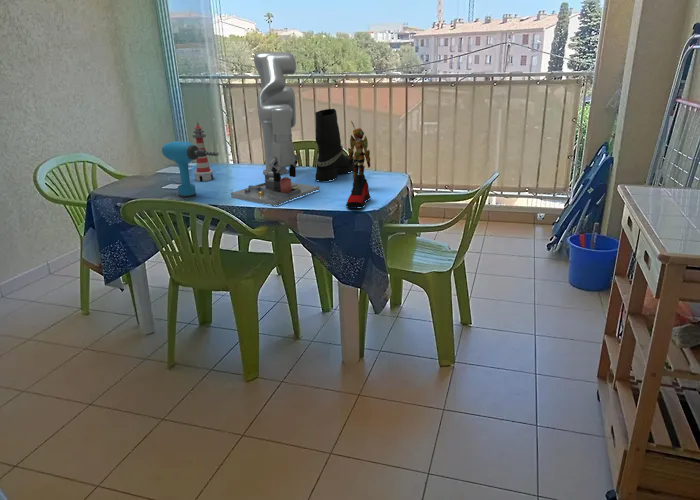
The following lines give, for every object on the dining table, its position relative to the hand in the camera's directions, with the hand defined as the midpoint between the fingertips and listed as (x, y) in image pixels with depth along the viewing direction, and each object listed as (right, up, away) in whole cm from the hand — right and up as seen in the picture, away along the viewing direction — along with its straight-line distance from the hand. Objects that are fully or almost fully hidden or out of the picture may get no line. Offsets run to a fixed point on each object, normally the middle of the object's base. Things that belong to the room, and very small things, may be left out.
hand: (285, 179), depth 216 cm
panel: (-5, -6, +7) cm, 10 cm away
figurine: (+32, -3, +13) cm, 34 cm away
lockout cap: (+1, -6, 0) cm, 6 cm away
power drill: (-39, -7, +6) cm, 40 cm away
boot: (+20, +7, +39) cm, 45 cm away
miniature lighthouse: (-44, +5, +35) cm, 57 cm away
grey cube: (-5, -4, +5) cm, 9 cm away
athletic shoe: (+31, -12, -9) cm, 34 cm away
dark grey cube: (-7, 0, +16) cm, 17 cm away
